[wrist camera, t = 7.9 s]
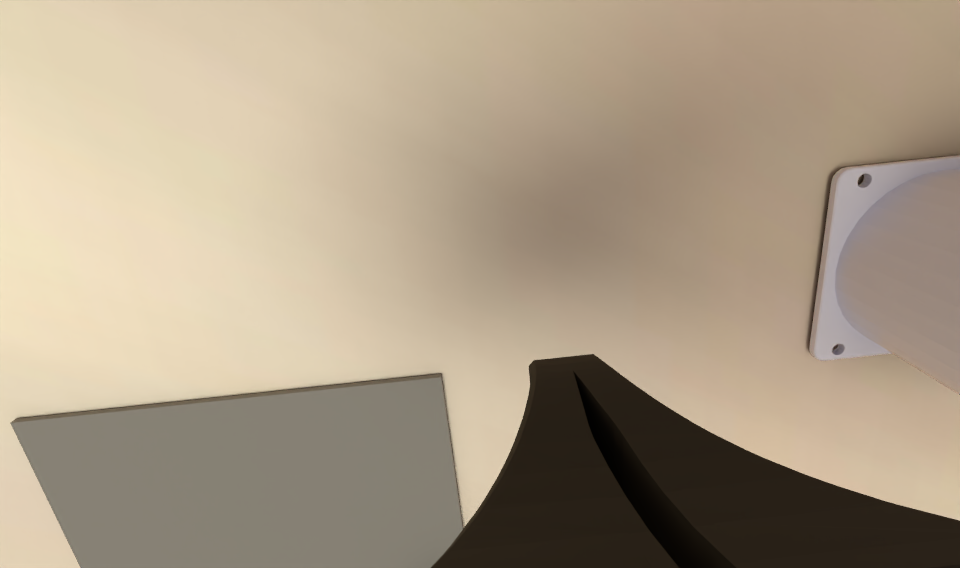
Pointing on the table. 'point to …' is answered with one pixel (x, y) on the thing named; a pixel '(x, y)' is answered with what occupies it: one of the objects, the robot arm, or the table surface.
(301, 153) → the table surface
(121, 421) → the mat
